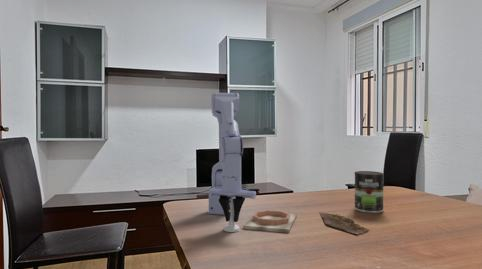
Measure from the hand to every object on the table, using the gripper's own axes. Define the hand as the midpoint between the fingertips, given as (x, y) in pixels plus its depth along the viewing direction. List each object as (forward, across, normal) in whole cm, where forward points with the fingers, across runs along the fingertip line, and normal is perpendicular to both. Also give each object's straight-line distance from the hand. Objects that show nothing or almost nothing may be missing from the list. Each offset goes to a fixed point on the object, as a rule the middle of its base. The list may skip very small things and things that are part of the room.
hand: (232, 220), depth 97 cm
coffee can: (+3, +42, +38) cm, 57 cm away
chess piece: (+3, 0, 0) cm, 3 cm away
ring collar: (+3, +10, +11) cm, 15 cm away
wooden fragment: (+3, +31, +17) cm, 35 cm away
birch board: (+3, +10, +11) cm, 15 cm away
